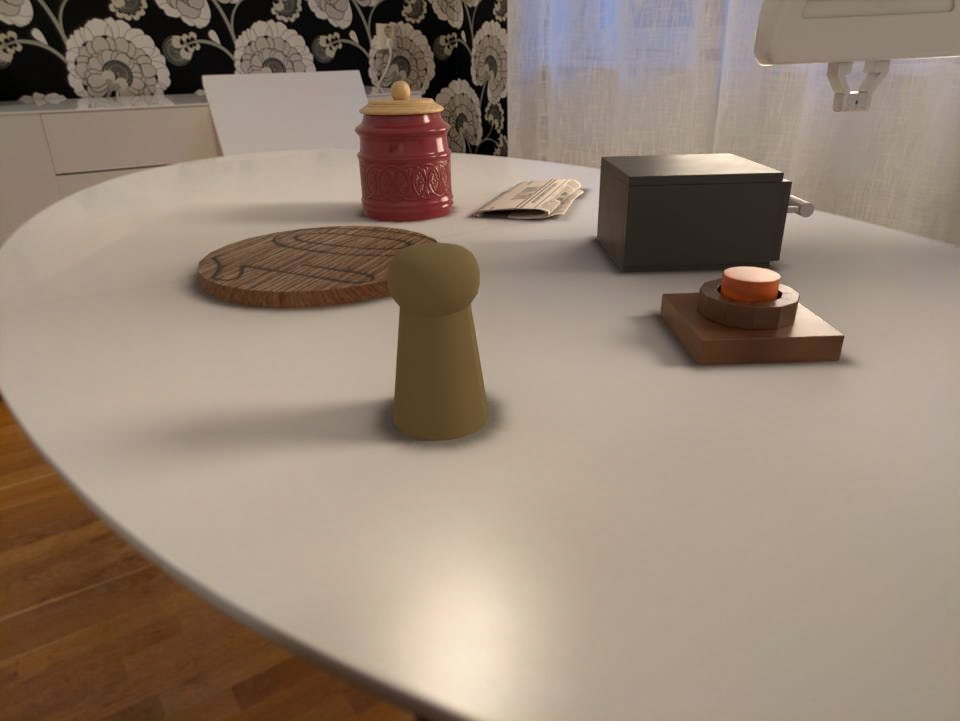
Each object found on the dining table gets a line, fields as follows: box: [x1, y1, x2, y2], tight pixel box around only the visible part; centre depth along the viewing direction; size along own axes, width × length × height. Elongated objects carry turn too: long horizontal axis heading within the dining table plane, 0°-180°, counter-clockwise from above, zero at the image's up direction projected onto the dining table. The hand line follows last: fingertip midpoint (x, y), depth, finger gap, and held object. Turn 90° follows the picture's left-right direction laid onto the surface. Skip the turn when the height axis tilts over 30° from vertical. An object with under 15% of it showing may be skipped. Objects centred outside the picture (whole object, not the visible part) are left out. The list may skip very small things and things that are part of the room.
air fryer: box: [596, 152, 785, 274], centre depth 72 cm, size 15×14×10 cm
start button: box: [720, 266, 782, 302], centre depth 50 cm, size 4×4×2 cm
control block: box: [659, 277, 845, 366], centre depth 51 cm, size 10×10×4 cm
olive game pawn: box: [387, 242, 490, 442], centre depth 39 cm, size 6×6×11 cm
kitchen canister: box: [354, 80, 454, 223], centre depth 92 cm, size 13×13×18 cm
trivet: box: [196, 225, 439, 309], centre depth 71 cm, size 25×25×2 cm
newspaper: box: [473, 178, 585, 220], centre depth 100 cm, size 23×12×2 cm, turn 161°
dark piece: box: [770, 177, 815, 262], centre depth 72 cm, size 18×13×8 cm
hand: (850, 111), depth 68 cm, fingers closed
